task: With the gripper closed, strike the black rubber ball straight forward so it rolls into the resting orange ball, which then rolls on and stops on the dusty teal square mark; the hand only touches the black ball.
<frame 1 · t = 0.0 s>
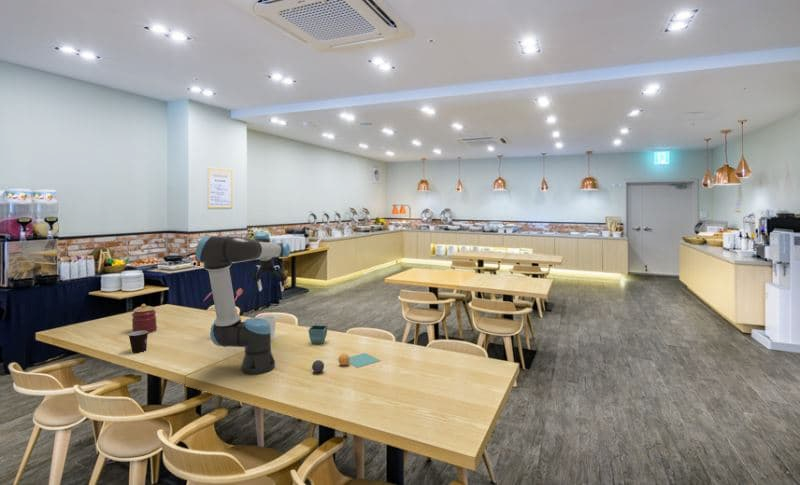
hand: (271, 290, 238), 28 cm above the table, tool tilted 20°, fingers open, 13 cm apart
black ball: (318, 366, 186), on the table
coffee mug: (141, 350, 216), on the table
teal mark: (361, 360, 201), on the table
flower pot: (318, 343, 228), on the table
pink stick figure: (222, 338, 237), on the table
canister: (144, 332, 250), on the table
foam cup: (268, 339, 234), on the table
orange ball: (344, 359, 195), on the table
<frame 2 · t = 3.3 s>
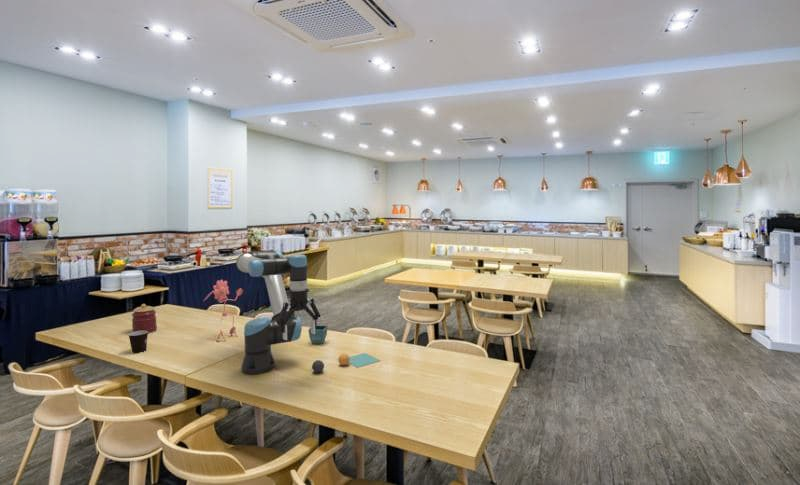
hand: (299, 336, 179), 19 cm above the table, tool pointing down, fingers open, 13 cm apart
nothing on the table moved.
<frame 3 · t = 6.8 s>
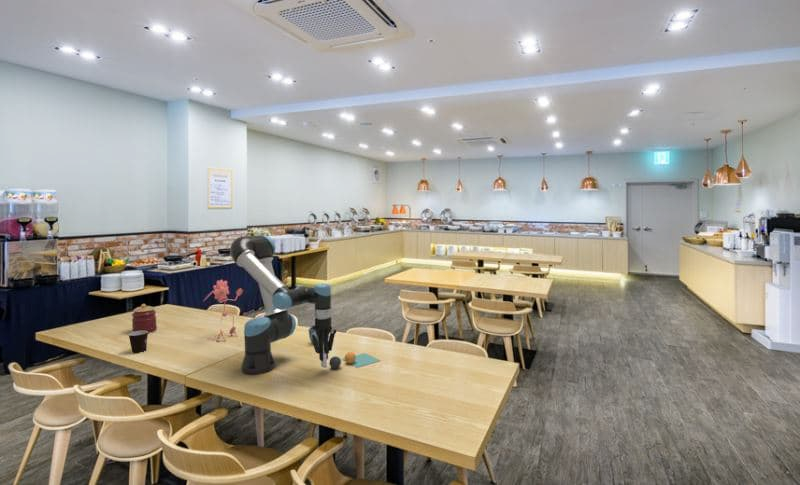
hand: (323, 366, 188), 2 cm above the table, tool pointing down, fingers closed
black ball: (335, 362, 191), on the table
orange ball: (350, 357, 197), on the table
everything else where it was.
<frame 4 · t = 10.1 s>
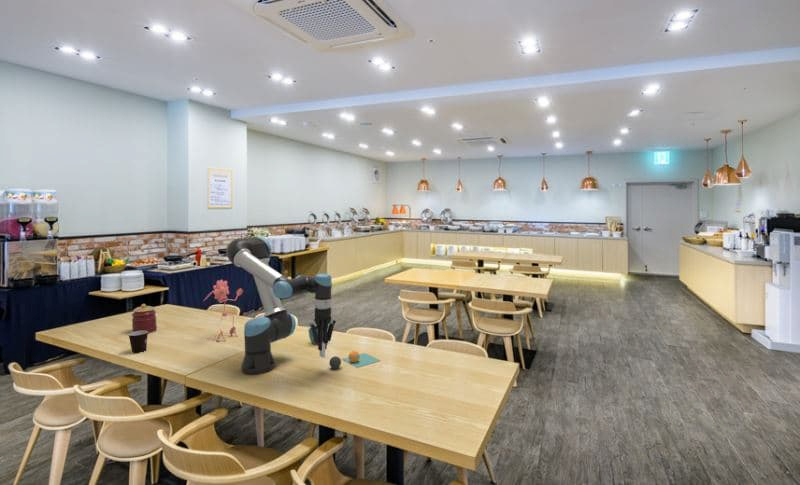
hand: (322, 356, 188), 7 cm above the table, tool pointing down, fingers closed
orange ball: (354, 356, 198), on the table
everything else where it was.
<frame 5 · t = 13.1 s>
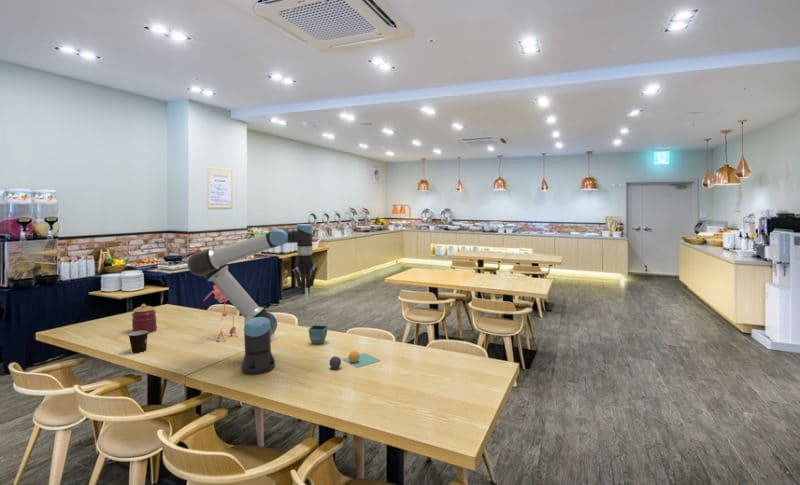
hand: (305, 300, 204), 29 cm above the table, tool pointing down, fingers closed
nothing on the table moved.
at the end: orange ball 4.3 cm from the teal mark (horizontally); orange ball never touched the robot; black ball first touched orange ball at 6.3 s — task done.
